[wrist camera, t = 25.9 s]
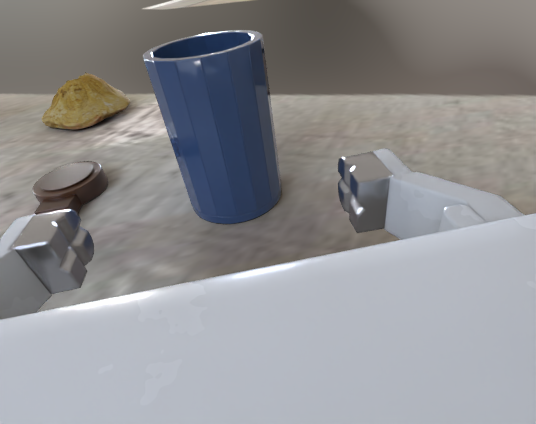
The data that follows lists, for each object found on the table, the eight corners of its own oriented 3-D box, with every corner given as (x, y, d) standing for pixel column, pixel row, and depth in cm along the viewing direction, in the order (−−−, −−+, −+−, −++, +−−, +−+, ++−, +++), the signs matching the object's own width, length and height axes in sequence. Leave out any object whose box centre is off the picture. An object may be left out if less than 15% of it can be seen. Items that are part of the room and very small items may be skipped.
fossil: (5, 75, 39) (84, 53, 45) (27, 121, 43) (96, 95, 49) (62, 108, 35) (140, 79, 41) (80, 155, 39) (148, 122, 45)
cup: (254, 232, 21) (219, 60, 15) (174, 213, 23) (117, 61, 17) (295, 178, 25) (281, 27, 19) (223, 167, 28) (191, 32, 22)
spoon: (17, 385, 15) (-5, 367, 14) (-105, 411, 14) (-136, 394, 14) (114, 170, 30) (107, 154, 29) (55, 181, 30) (46, 166, 29)
